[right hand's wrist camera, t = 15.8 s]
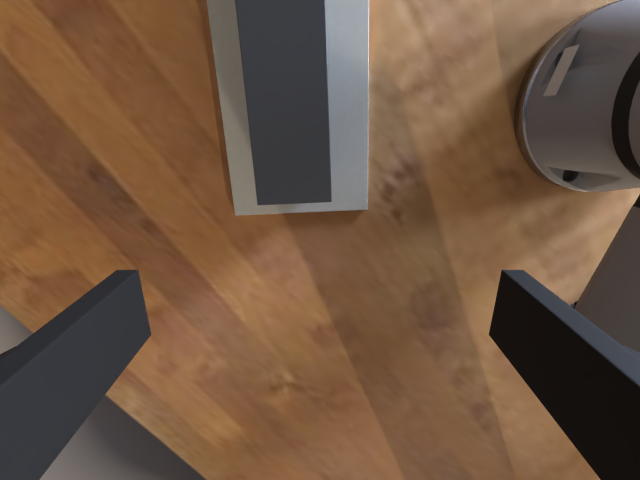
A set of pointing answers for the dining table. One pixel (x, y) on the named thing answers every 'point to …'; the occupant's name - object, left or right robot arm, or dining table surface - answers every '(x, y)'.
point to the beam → (287, 98)
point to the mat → (344, 107)
